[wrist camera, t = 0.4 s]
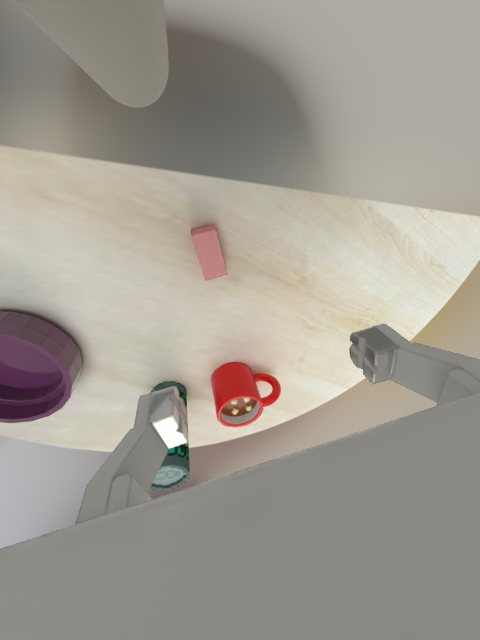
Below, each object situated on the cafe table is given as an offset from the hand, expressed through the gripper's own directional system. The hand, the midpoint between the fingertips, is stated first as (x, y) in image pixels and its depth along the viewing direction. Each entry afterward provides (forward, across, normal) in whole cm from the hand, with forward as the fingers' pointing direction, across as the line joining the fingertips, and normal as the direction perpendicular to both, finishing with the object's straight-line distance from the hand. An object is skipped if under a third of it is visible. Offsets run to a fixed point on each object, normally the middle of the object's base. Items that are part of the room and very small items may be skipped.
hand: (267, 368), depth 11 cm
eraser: (+26, +1, +2) cm, 26 cm away
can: (+27, +15, +26) cm, 40 cm away
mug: (+27, +1, +27) cm, 38 cm away
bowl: (+26, +31, +10) cm, 41 cm away
